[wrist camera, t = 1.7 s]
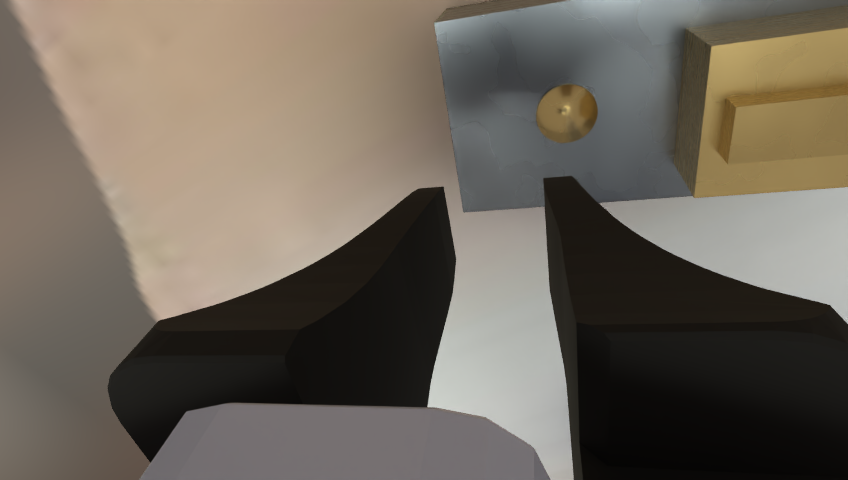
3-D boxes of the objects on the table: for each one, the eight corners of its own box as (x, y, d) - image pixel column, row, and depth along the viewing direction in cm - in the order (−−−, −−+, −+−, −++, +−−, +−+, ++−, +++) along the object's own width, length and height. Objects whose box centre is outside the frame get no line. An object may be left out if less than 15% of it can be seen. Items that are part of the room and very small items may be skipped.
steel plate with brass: (1041, 129, 17) (1132, 165, 15) (470, 179, 22) (463, 213, 19) (1159, -115, 14) (1306, -123, 11) (446, 8, 18) (433, 23, 16)
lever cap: (919, 142, 15) (1004, 190, 13) (673, 163, 17) (701, 210, 14) (975, -15, 13) (1093, 4, 10) (685, 28, 15) (721, 53, 12)
